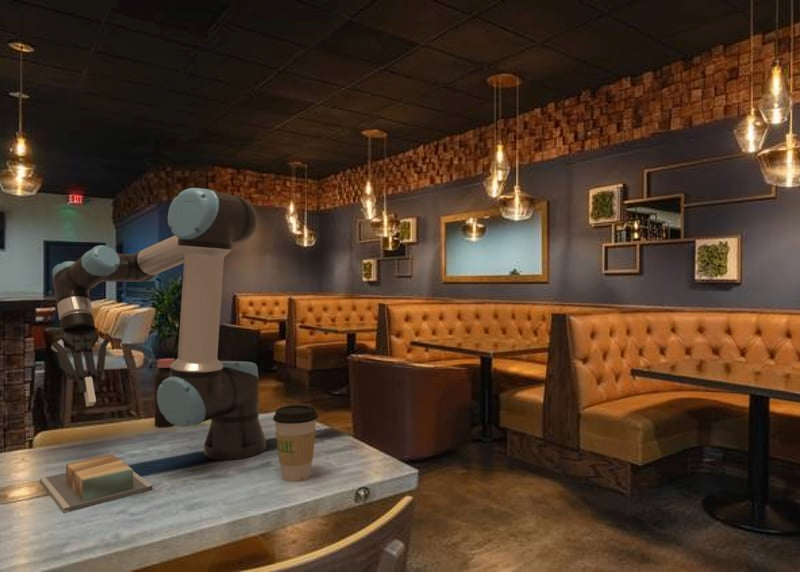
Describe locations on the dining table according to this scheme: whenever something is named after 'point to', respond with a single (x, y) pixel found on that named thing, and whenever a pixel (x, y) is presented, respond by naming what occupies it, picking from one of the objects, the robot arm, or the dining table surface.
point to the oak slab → (99, 477)
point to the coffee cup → (295, 440)
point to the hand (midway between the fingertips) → (91, 403)
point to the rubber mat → (72, 501)
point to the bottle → (158, 379)
